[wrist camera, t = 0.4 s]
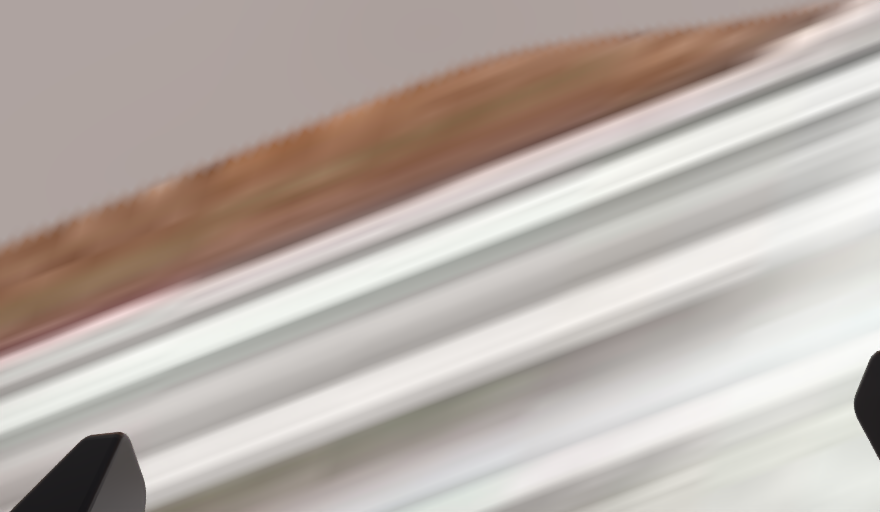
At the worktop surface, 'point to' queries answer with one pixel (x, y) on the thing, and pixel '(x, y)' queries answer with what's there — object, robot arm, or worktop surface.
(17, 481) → the worktop surface
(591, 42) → the worktop surface
